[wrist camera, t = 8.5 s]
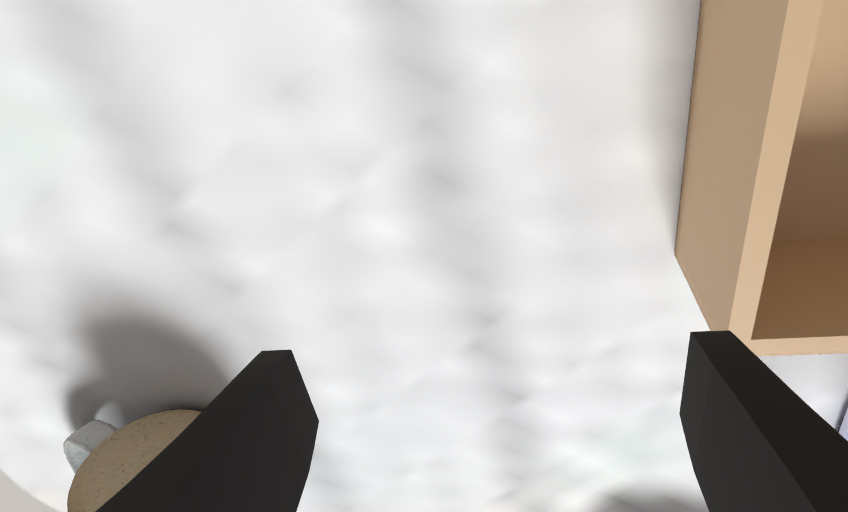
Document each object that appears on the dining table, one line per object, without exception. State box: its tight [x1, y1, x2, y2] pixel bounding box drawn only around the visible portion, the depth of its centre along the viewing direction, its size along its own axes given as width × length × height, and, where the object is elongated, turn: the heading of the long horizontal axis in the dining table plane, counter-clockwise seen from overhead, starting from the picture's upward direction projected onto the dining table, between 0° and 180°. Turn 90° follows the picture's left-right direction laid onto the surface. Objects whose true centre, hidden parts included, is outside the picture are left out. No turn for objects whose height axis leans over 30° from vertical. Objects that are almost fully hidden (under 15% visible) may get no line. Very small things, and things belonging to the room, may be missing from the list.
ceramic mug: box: [63, 409, 201, 512], centre depth 26 cm, size 11×8×8 cm
